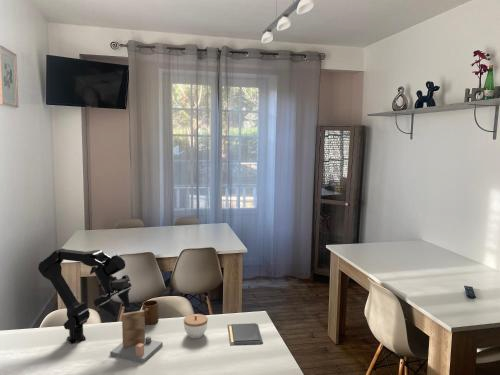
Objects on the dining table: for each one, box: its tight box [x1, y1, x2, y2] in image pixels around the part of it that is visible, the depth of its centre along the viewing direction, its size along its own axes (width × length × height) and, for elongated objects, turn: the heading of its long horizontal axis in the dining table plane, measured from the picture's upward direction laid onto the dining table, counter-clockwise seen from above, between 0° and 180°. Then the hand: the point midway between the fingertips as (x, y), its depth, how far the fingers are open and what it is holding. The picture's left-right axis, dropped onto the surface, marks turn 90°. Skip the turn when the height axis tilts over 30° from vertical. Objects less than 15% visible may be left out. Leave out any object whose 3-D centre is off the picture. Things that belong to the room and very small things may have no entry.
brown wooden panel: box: [121, 310, 146, 347], centre depth 163 cm, size 9×2×14 cm, turn 116°
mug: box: [141, 299, 159, 326], centre depth 187 cm, size 12×8×9 cm, turn 176°
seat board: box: [109, 336, 163, 363], centre depth 163 cm, size 16×14×6 cm
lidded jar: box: [183, 313, 209, 339], centre depth 176 cm, size 11×11×9 cm
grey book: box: [227, 322, 264, 347], centre depth 178 cm, size 20×2×15 cm
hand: (122, 311), depth 163 cm, fingers open, 9 cm apart
